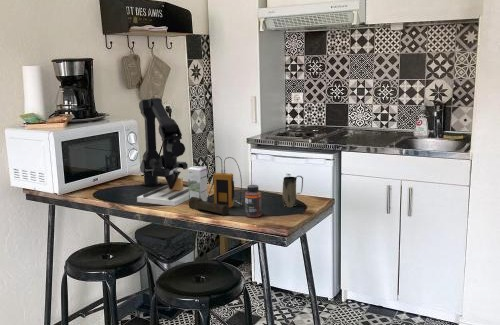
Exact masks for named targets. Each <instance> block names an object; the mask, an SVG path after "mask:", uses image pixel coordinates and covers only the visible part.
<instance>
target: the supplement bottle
mask: <svg viewBox="0 0 500 325" xmlns="http://www.w3.org/2000/svg"><path fill="white" fill-rule="evenodd" d="M246 188H247V190H246V191H245V193H244V199H245V200H244V204H245V206H244V207H245V211H244V212H245V216H246V217H247V218H251V217H256V218H259V216H260V217H261V216H262V213H263V212H262V210H263V209H262V192H261V191H260V190H259V185H258V184H249V185H247V187H246Z"/></svg>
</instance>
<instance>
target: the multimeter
mask: <svg viewBox="0 0 500 325" xmlns="http://www.w3.org/2000/svg"><path fill="white" fill-rule="evenodd" d="M216 158H219V159H220V161H221V162H220V163H221V165H220V166H221V171H220V172H216V173H213V172H211V174H212V175H211V176H212V185H211V187H210V190H209V192H208V194H207V200H208V199H209V197H210V194H211V191H212V188H213V199H214V200H213V203H217V204H220V205H228V206H229V209H230V208H232V207H234V205H235V204H234V202H235V200H234V199H235V181H234V174H233V173H228V172H227V173H226V166H225V162H226V159H233V160H234V161H235V163H236V166H237V168H238V171H239V175H240V176H239V177H242V174H241V169H240V166H239V165H238V162H237V160H236V159H235V158H234V157H230V156H228V157H226V158H225V159H224V161H223V158H221V157H220V156H218V155H217V156H215V157H214V158H213V159H212V162H211V168H210V169H211V171H213V163H214V161H215V160H216ZM242 186H243V182H242V178H240V190H242V188H243V187H242ZM239 194H240V197H239V198H240V199H239V201H236V203H237V204H239V205H240V206H242V207H245V206H244V204H243V203H242V193H239ZM208 201H209V200H208ZM208 201H206V202H208Z"/></svg>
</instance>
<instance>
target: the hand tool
mask: <svg viewBox="0 0 500 325" xmlns="http://www.w3.org/2000/svg"><path fill="white" fill-rule="evenodd" d="M188 208H191V209H193V210H196V211H199V210H201V211H208V212H210V213H215V214H219V215H221V216H222V217H224V216H227V215H228V214H229V213H230V211H229V210H230V208H229V206H228V205H220V204H217V203H214V202H209V201H207V202H206V201H202V199H201V198H197V197H191V198H190V200H188Z"/></svg>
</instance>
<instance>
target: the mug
mask: <svg viewBox="0 0 500 325" xmlns="http://www.w3.org/2000/svg"><path fill="white" fill-rule="evenodd" d="M298 177H299V178H301V189H300V190H301V191H300V192H297V179H298ZM303 184H304V177H303V176H302V175H297V176H284V177H283V181H282V206H283V205H284V206H283V207H285V206H287V207H286V208H294V207H293V206H296V205H297V206H298V201H297V194H298V195H300V194H301V193H302V192H303V187H304V185H303ZM297 206H296V207H297Z"/></svg>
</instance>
